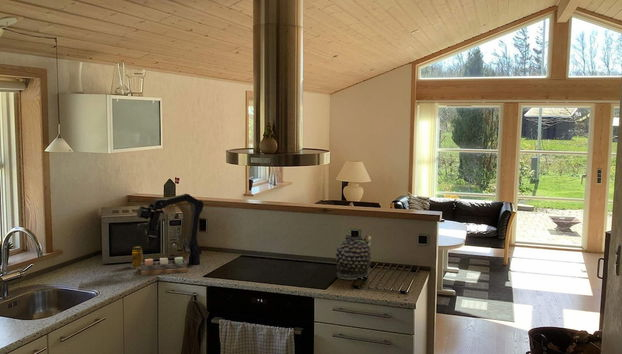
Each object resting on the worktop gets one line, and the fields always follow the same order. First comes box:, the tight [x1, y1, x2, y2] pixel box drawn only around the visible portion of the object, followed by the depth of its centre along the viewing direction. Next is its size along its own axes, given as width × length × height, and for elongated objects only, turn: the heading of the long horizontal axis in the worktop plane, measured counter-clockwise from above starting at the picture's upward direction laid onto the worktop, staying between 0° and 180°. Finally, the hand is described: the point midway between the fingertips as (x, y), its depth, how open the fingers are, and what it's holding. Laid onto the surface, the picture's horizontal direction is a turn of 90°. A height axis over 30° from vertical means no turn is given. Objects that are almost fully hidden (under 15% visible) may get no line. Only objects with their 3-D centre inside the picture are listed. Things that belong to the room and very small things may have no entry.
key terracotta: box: [144, 258, 154, 266], centre depth 340 cm, size 4×4×3 cm
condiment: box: [130, 245, 144, 269], centre depth 352 cm, size 7×8×12 cm
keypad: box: [140, 259, 189, 276], centre depth 343 cm, size 26×14×4 cm, turn 108°
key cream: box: [159, 257, 169, 265], centre depth 343 cm, size 4×4×3 cm
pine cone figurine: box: [335, 234, 372, 280], centre depth 332 cm, size 21×15×25 cm
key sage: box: [174, 256, 184, 264], centre depth 345 cm, size 4×4×3 cm
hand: (148, 246), depth 341 cm, fingers open, 9 cm apart
